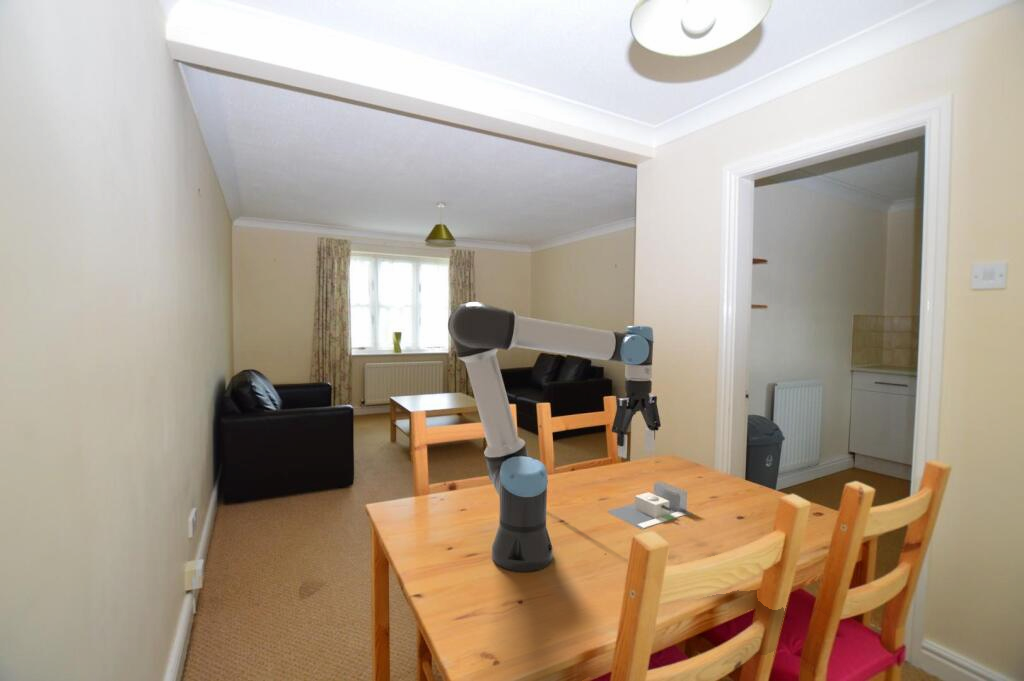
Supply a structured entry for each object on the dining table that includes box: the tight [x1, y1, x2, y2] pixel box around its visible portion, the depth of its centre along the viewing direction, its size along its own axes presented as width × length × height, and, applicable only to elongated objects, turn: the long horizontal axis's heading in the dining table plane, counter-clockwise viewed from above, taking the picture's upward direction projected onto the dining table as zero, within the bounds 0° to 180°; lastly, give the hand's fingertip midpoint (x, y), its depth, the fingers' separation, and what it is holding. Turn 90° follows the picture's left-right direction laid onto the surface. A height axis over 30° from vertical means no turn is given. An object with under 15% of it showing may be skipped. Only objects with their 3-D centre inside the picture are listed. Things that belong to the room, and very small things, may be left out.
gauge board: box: [606, 502, 693, 530], centre depth 141 cm, size 22×14×2 cm, turn 122°
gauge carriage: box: [634, 491, 671, 518], centre depth 140 cm, size 6×11×4 cm, turn 32°
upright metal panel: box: [653, 481, 688, 512], centre depth 145 cm, size 3×10×6 cm, turn 32°
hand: (636, 454), depth 136 cm, fingers open, 10 cm apart
